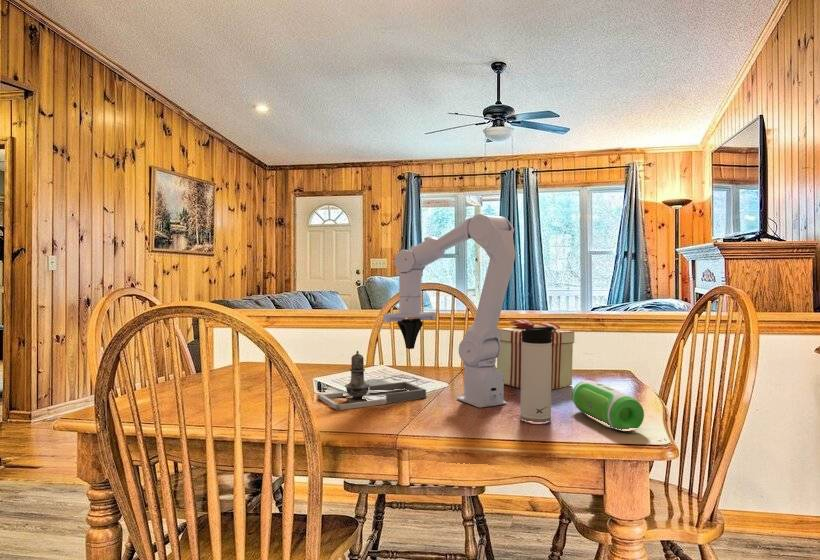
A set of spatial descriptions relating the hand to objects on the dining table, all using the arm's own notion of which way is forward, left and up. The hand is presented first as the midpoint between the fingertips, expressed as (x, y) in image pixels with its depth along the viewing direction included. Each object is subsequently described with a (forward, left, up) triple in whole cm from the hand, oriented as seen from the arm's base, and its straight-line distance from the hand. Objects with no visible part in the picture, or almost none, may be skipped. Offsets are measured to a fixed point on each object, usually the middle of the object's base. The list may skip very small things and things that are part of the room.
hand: (409, 348), depth 150 cm
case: (-6, +7, -10) cm, 14 cm away
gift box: (-11, -33, -11) cm, 36 cm away
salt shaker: (-6, +17, -11) cm, 21 cm away
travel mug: (-39, -9, -11) cm, 41 cm away
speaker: (-46, -21, -11) cm, 52 cm away
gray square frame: (-6, +19, -10) cm, 22 cm away
